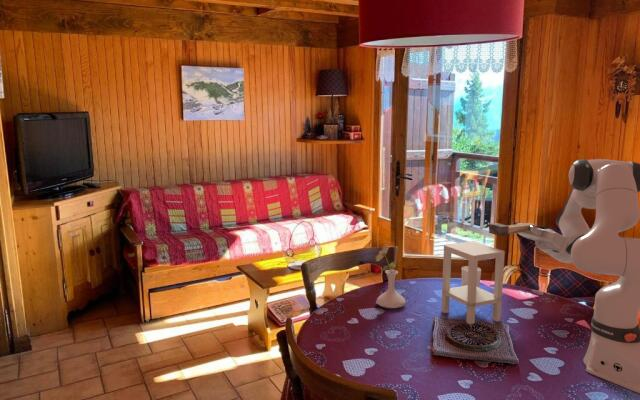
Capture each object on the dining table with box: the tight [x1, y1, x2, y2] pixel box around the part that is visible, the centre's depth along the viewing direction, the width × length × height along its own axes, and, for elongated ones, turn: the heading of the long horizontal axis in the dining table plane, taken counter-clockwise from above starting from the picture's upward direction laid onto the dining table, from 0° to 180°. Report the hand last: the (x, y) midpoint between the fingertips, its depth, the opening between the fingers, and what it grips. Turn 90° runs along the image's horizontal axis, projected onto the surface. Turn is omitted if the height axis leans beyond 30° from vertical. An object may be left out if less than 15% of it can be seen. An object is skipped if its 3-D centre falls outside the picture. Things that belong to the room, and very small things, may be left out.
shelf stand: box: [441, 240, 506, 324], centre depth 182 cm, size 16×14×26 cm
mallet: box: [488, 222, 536, 237], centre depth 187 cm, size 6×18×4 cm, turn 114°
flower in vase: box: [375, 244, 407, 309], centre depth 192 cm, size 13×11×25 cm
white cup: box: [461, 265, 482, 288], centre depth 209 cm, size 8×8×10 cm
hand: (525, 226), depth 189 cm, fingers closed on mallet, 3 cm apart
